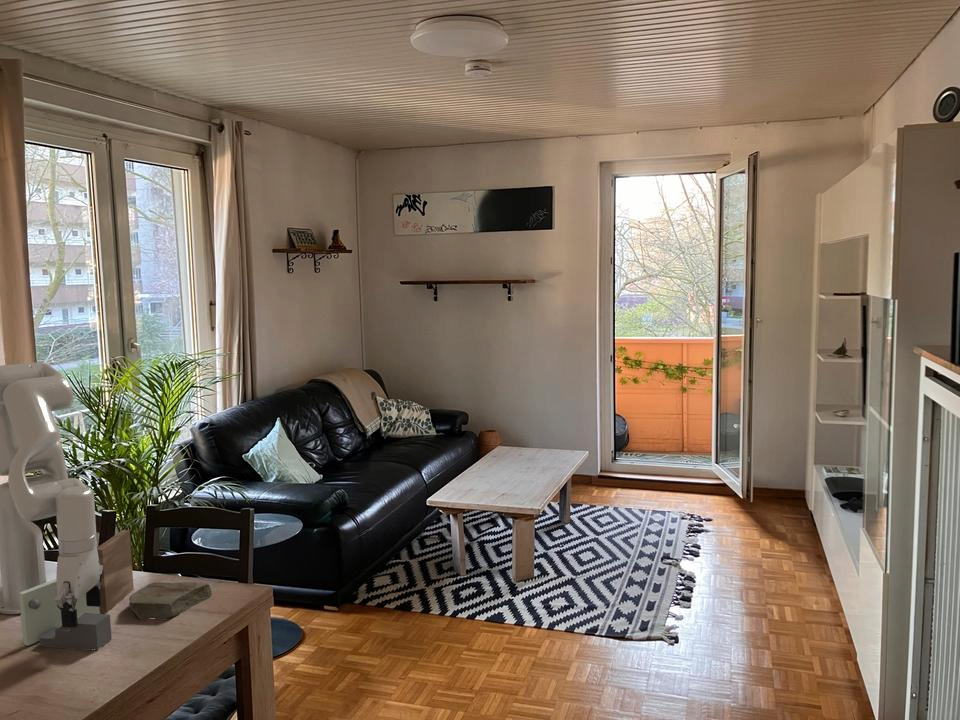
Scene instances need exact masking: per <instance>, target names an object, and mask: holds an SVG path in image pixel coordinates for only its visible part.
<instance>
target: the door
mask: <svg viewBox="0 0 960 720" xmlns="http://www.w3.org/2000/svg"><path fill="white" fill-rule="evenodd" d="M68 595H69V596H74V594H68ZM56 596H57V587H56V578H54V579H52V580H50V581H48V582H47V581H46V583H44V584H41V585H38V586H36V587H33V588H30V589H28V590H25V591H22V592H20V593H19V599H20V610H21V614H20V619H21V630H22V641H23V645H25V646H31V645H32V644H35V643H38V642H40V640H39V638H40V637H42V636H43V635H44V634H46V633H47V632H49V631H50V630H52V629H53V628H60V627H61V626H62V617H61V611H60V610H59V608H58V607H57V603H56V601H55V597H56ZM71 601H72V600H70V599H67V603H69V604H70V605H71ZM75 609H77V618H79V617H80V616H82V615H83V614H85V613H95V614H101V613H100V611H99V607H94V606H87V604H86V593H85V594H84V595H83V596H81V597H80V598H78V599H77V602H76V606H75Z"/></svg>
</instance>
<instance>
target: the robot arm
mask: <svg viewBox="0 0 960 720" xmlns="http://www.w3.org/2000/svg"><path fill="white" fill-rule="evenodd" d="M74 396H75V395H74V391H73V388H72V386H71V383H70V381H69V380H68V379H67V378H66V377H65V375H63V374H62V373H61V372H60V371H58V370H56V369H55V368H54V367H52V366H51V365H49V364H48V363H46V362H25V363H17V364H2V365H0V476H1V477H2V476H3V477H7V478H8V481H6V482H4V483H1V484H0V579H1V586H0V614H3V615H21V610H20V599H19V593H20V592H22V591H25V590H28V589H30V588H33V587H36V586H38V585H41V584H44V583H46V582H47V576H46V573H47V572H46V564H45V563H46V562H45V551H44V550H45V549H44V539H43V532H42V529H41V528H40V527H39V526H38V525H36V524H35V523H34V522H35V521H39V520H43V519H44V520H45V519H49V518H52V517H54V516H55V517H56V529H57V530H56V531H57V542H58V544H57V545H58V554H59V555H57V556H58V557H57V562H56V574H55V575H56V577H55V579H56V587H57V596H56V597H55V601H56V603H57V607H58V608H59V610H60V611H61V617H62V626H63V627H74V628H75V627H77V626H78V621H77V609H75V606H76V602H77V599H78V598H80V597H81V596H83V595H84V594H85V593H86V604H87V606H94V607H99V606H101V591H100V588H101V583H100V582H101V579H102V570H103V565H99V557H98V551H97V547H98V542H97V540H98V539H97V526H96V525H97V524H96V523H97V522H96V508H95V494H94V491H93V490H92V488H90V487H88V486H86V484H85V483H84V482H83V481H81V480H80V479H79V478H75V477H71V478H69V476H68V471H67V465H66V458H65V454H64V453H65V452H64V450H63V449H64V448H63V445H62V442H61V440H60V438H61V433H60V430H59V428H58V425H57V422H56V421H55V420H56V419H55V418H54V414H53V412H56V411H57V412H58V411H64V410H67V409H69V408H71V407H72V405H73V403H74ZM35 471H41V472H42V473H41V474H39V475H35V476H30V477H27V476H26V473H29V472H35ZM68 594H74V596H69V595H68ZM67 599H70V600H72V601H71V605H70V604H69V603H67Z"/></svg>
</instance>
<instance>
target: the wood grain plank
mask: <svg viewBox="0 0 960 720" xmlns="http://www.w3.org/2000/svg"><path fill="white" fill-rule="evenodd" d="M130 531H131V530H129V529H122V530H120V531H119V532H118V533H116V534H115V535H113V536H112V537H110V538H109V539H108V540H106V541H105V542H103V543H102V544H100V545H99V546H97V551H98V557H99V565H103V570H102V579H101V582H100V583H101V588H100V591H101V606H99V611H100V614H108V613H109V612H110V611H111V610H112V609H114V608H115V606H116V604H119V603H120V602H121V601H123V599H125V598H126V597H127V596H128V595H129V594H131V593H132V591H134V589H135V588H134V575H133V573H134V572H133V560H132V558H133V557H132V545H131V543H132V542H131V532H130ZM125 596H126V597H125ZM124 597H125V598H124ZM118 602H119V603H118ZM109 610H110V611H109ZM108 611H109V612H108Z"/></svg>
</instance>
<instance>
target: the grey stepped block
mask: <svg viewBox="0 0 960 720" xmlns="http://www.w3.org/2000/svg"><path fill="white" fill-rule="evenodd" d="M77 621H78V626H77V627H75V628H74V627H63V626H61V627H60V628H53V629H52V630H50V631H49V632H47V633H46V634H44V635H43V636H42V637H40V638H39V640H40V641H39V647H40V646H42V647H41V648H53V647H55V649H56V648H57V649H69V650H82V649H93V650H92V651H96V650H98V649H99V648H100V647H102V646H103V645H104V646H105V644H106V643H107V642H108V643H109V642H111V641H112V640H113V638H112V628H111V627H112V625H111V624H112V623H111V614H109V613H100V614H95V613H85V614H83V615H82V616H80V617H79V618H77ZM111 639H112V640H111ZM110 640H111V641H110ZM108 643H107V644H108ZM107 644H106V645H107ZM104 646H103V647H104ZM103 647H102V648H103ZM94 649H95V650H94ZM99 650H100V649H99ZM99 650H98V651H99Z"/></svg>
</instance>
